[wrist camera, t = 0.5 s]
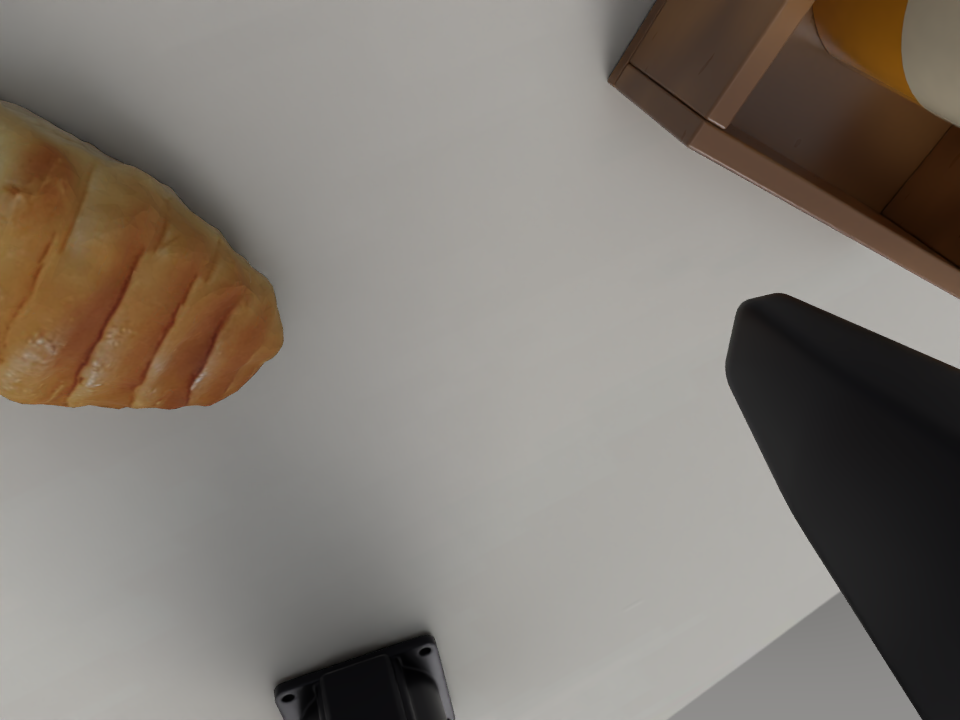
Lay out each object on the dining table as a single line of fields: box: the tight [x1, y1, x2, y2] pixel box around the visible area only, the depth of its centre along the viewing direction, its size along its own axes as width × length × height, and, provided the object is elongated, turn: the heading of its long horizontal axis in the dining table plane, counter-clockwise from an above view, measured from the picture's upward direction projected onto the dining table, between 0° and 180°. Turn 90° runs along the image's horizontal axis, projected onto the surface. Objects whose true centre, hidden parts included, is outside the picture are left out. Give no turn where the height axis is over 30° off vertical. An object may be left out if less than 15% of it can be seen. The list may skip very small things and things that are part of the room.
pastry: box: [0, 100, 284, 410], centre depth 20 cm, size 9×7×4 cm
